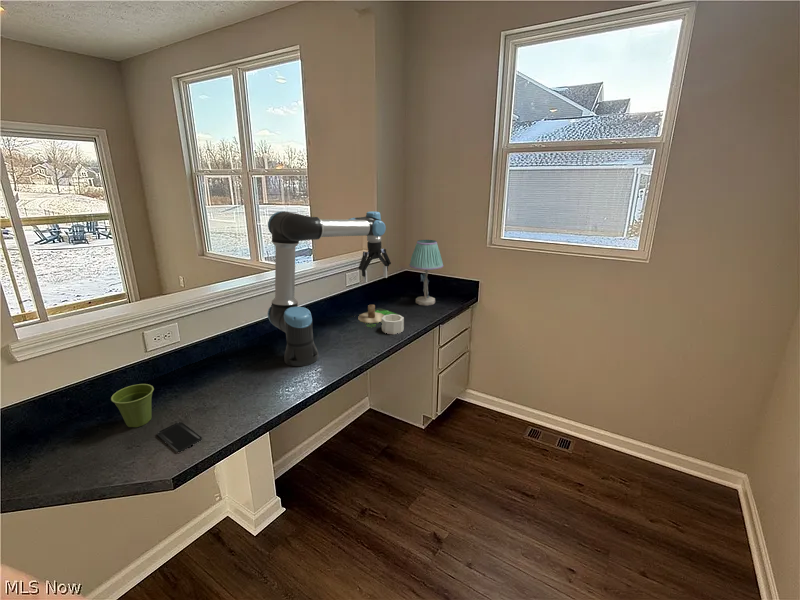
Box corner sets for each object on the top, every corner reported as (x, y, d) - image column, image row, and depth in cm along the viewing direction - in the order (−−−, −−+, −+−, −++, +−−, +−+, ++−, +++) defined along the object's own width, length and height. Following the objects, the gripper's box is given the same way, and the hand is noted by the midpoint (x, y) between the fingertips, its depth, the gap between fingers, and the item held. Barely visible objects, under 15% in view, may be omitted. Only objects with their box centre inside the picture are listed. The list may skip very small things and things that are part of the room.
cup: (388, 335, 201) (388, 323, 198) (379, 328, 210) (378, 316, 208) (406, 331, 206) (406, 319, 203) (397, 324, 215) (397, 313, 213)
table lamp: (406, 297, 261) (407, 238, 248) (438, 296, 263) (440, 238, 250) (411, 308, 240) (412, 244, 227) (445, 307, 242) (447, 244, 230)
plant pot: (133, 436, 125) (126, 406, 121) (110, 427, 129) (102, 397, 125) (167, 416, 135) (161, 388, 131) (145, 408, 139) (138, 380, 136)
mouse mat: (369, 330, 208) (369, 328, 208) (344, 319, 223) (344, 318, 223) (404, 317, 227) (404, 315, 227) (379, 308, 241) (379, 306, 241)
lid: (364, 326, 214) (364, 312, 211) (353, 316, 227) (353, 303, 224) (390, 321, 221) (390, 307, 218) (378, 312, 234) (378, 299, 232)
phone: (180, 421, 131) (203, 438, 123) (180, 423, 131) (203, 441, 123) (155, 433, 125) (177, 452, 117) (156, 436, 125) (178, 455, 117)
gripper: (358, 245, 195) (360, 285, 202) (396, 239, 210) (397, 276, 217) (350, 243, 200) (352, 282, 207) (388, 237, 215) (389, 274, 222)
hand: (375, 279), depth 212 cm, fingers open, 13 cm apart
